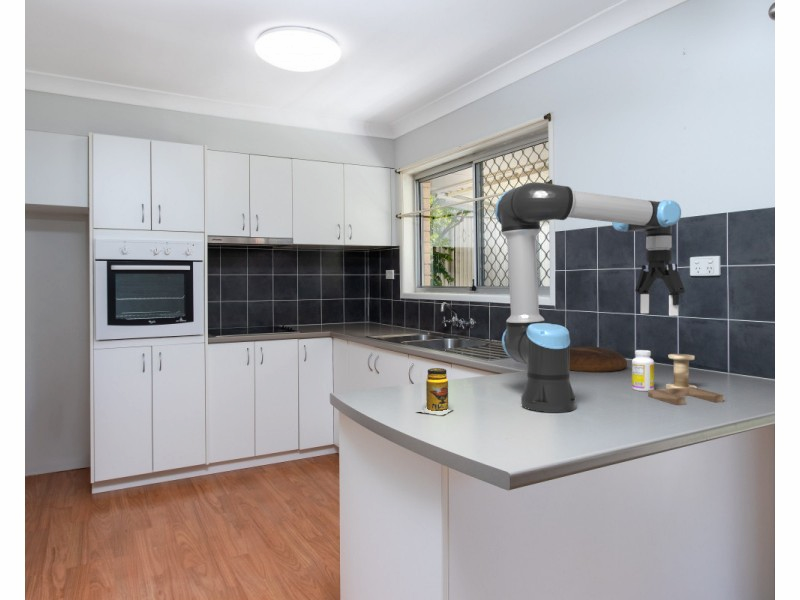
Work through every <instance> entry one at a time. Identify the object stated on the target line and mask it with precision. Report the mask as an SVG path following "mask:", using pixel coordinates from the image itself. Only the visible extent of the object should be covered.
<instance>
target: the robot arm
mask: <svg viewBox="0 0 800 600" xmlns="http://www.w3.org/2000/svg"><path fill="white" fill-rule="evenodd" d="M494 208H495V209H494V213H495V218H496V220H497V222H498V223H499V224H500V227H501V229H500V230H501V235H503V236H504V237H505V239H506V242H507V247H506V248H507V263H508V264H507V265H508V266H507V267H508V284H509V300H510V316H509V317H508V318H507V319H506V324H505V325H506V329H505V330H504V331H503V334H502V337H501V345H502V349H503V351H504V353H505V354H506V355H507V356H508V357H509V358H511V359H513V361H515V362H517V363H520V364H521V363H522V364H526V365H527V368H526V369H527V370H526V371H527V372H526V373H527V376H526V381H525V382H526V383H525V385H524V389H523V392H522V395H521V396H520V397H521V399H520V405H521V404H522V406H524V407H526V408H529V409H532V410H531V411H534V410H536V411H535V412H540V411H544V412H543V413H568V412H572V411H574V410H576V409H577V401H576V396H575V393H574V390H573V388H572V384H571V380H570V370H569V359H570V346H571V339H570V331H569V330H568V328H567V327H565V326H563V325H560V324H552V323H546V322H545V318H544V317H543V316H542V315H541V314H540V305H539V303H540V302H539V287H538V285H539V284H538V282H539V281H538V264H537V241H536V240H537V239H536V236H537V234H539V232H540V231H541V226H540V225H541V222H544V221H553V220H556V221H558V220H559V221H565V220H567V219H568V218H572V219H582V220H589V221H590V220H591V221H599V222H608V223H612V228H613V229H614V230H616V231H617V232H623V233H626V232H645V237H646V241H645V248H646V250H647V251H646V253H645V254H646V255H645V258H646V259H645V260H646V262H647V263H648V264H643V265H641V272H640V274H639V278H638V280H637V284H636V287H635V293H638V294H639V303H640V314H649V313H650V294H649V290H650V289H651V287H652V285H653V284H654V282H655V280H657V279H661V280H662V281H663V282H664V284H665V286H666V287H667V289H668V291H669V295H668V315H669V317H677V316H679V305H680V295H681V294H684V293H685V292H686V290H685V287H684V285H683V282H682V278H681V277H680V274H679V271H678V264H677V263H670V262H671V261H672V260H673V259H672V258H673V257H672V254H673V251H672V250H671V249H672V248H673V246H672V245H673V241H672V239H673V237H672V236H673V234H672V233H673V232H672V231H673V229H672V228H673V226H674V225H676V224H677V223H678V222H679V220H680V219H681V216H682V209H681V206H680V204H679V203H678V202H677V201H675V200H673V199H672V200H671V199H668V200H666V199H664V200H661V201H655V200H646V199H641V198H640V199H639V198H631V197H626V196H625V197H624V196H616V195H608V194H600V193H594V192H593V193H592V192H586V191H576V190H573V188H572V187H570V186H566V185H559V184H552V183H547V182H534V181H533V182H527V183H524V184H523V185H519V186H517V187H515V188H511V189H509V190H507V191H506V192H504V193H503V194H502V195H501V196H499V198H498V199H497V202H496V204H495V207H494ZM522 406H521V407H522ZM524 407H523V408H524ZM526 408H525V409H526ZM529 409H528V410H529Z"/></svg>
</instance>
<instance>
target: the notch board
mask: <svg viewBox="0 0 800 600" xmlns="http://www.w3.org/2000/svg"><path fill="white" fill-rule="evenodd" d="M684 396H685V397H684ZM686 396H690V397H694V398H698V399H700V400H705V401H708V402H713V403H720V402H721V403H722V402H724V394H722V393H717V392H713V391H708V390H707V389H706V390H705V389H701V388H698V387H697V388H694V387H686V388H671V389H666V388H659V389H655V388H654V390H648V391H647V397H650V398H651V399H652V398H653V399H656V400H659V401H662V402H666V403H669V404H671V405H675V406H682V405H686Z"/></svg>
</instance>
